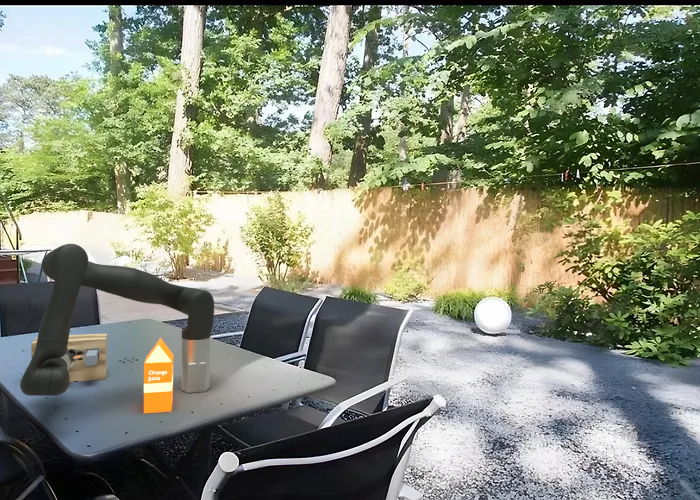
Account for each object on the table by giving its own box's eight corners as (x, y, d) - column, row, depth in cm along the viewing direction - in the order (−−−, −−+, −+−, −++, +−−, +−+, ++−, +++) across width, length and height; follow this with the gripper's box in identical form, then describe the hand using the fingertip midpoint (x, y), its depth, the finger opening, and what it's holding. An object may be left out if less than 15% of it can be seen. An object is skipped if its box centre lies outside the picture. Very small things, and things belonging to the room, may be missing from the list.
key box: (105, 379, 177) (105, 339, 176) (31, 385, 168) (31, 343, 168) (107, 371, 186) (107, 333, 185) (37, 376, 178) (36, 336, 177)
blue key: (96, 364, 168) (96, 355, 168) (85, 365, 167) (85, 356, 167) (98, 356, 178) (98, 347, 178) (88, 357, 177) (88, 348, 177)
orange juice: (143, 413, 147) (143, 344, 146) (146, 402, 156) (146, 337, 155) (171, 411, 150) (172, 343, 148) (173, 400, 158) (174, 336, 157)
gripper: (82, 349, 146) (87, 337, 162) (28, 352, 141) (39, 338, 157) (81, 375, 146) (87, 360, 162) (27, 379, 141) (38, 363, 157)
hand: (63, 349), depth 160 cm, fingers closed
